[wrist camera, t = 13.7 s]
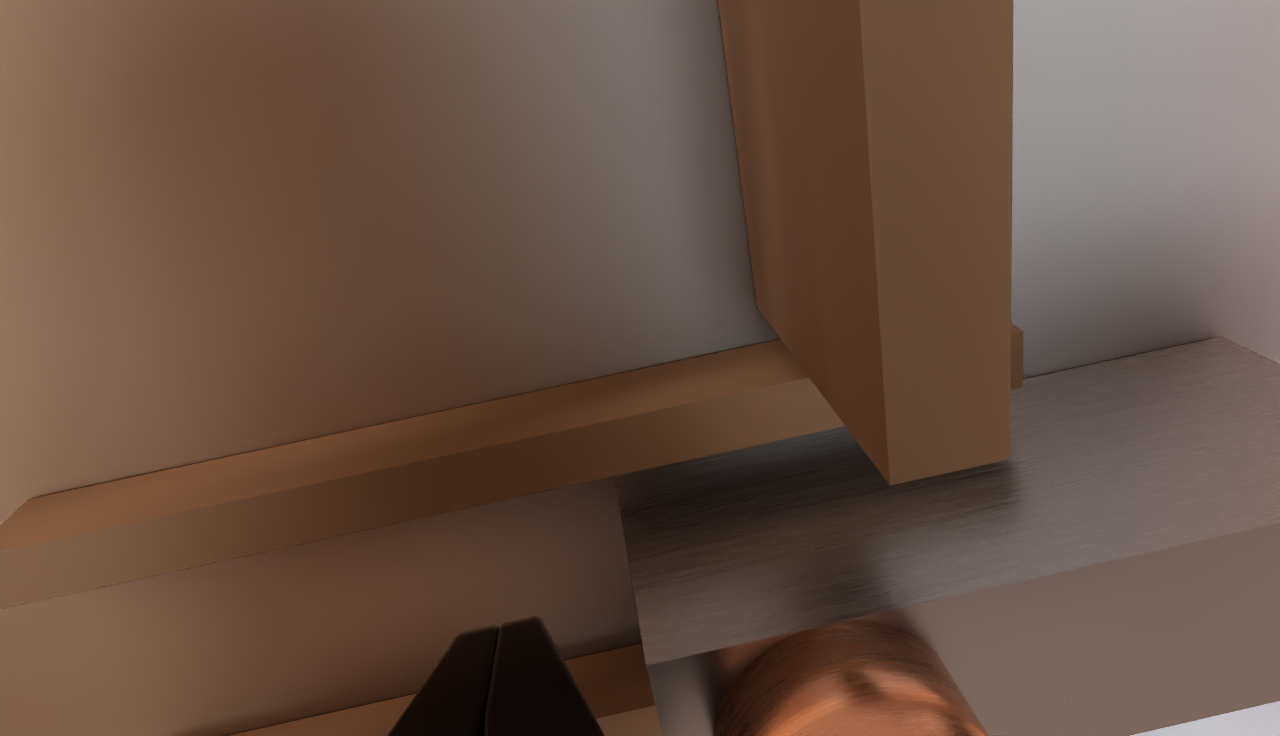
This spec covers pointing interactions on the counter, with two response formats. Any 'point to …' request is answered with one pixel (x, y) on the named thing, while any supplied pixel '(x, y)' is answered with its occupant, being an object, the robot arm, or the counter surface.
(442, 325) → the counter surface
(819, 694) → the pin
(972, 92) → the dock cradle
